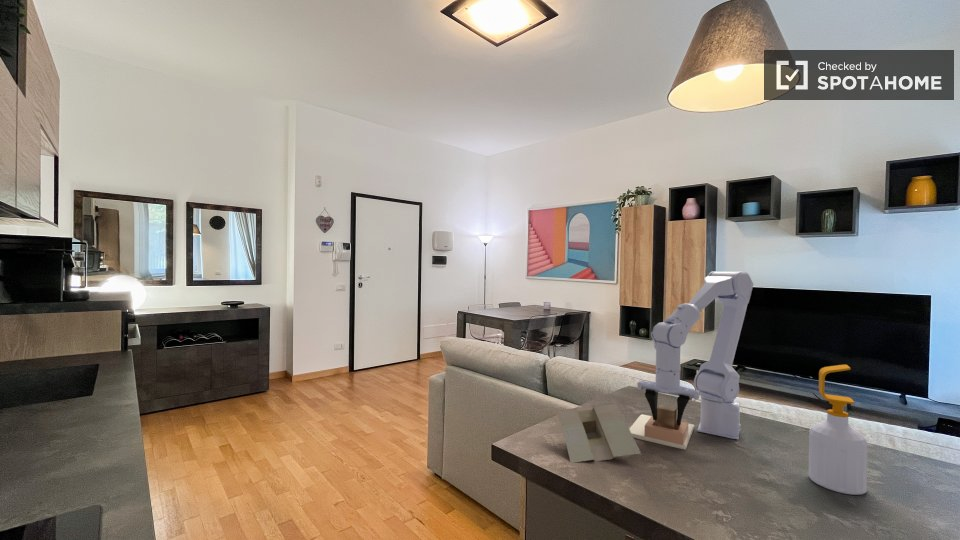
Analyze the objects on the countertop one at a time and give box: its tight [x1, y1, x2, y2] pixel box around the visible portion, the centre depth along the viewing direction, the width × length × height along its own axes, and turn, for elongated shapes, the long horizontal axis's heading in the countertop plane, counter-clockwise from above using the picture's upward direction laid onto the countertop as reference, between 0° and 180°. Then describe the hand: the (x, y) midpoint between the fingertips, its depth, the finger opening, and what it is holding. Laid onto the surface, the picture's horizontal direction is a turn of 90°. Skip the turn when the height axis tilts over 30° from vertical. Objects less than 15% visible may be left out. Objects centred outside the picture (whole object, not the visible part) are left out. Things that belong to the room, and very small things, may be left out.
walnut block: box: [657, 404, 678, 430], centre depth 106 cm, size 4×4×7 cm
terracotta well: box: [645, 415, 689, 445], centre depth 106 cm, size 9×9×3 cm
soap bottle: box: [808, 364, 868, 496], centre depth 84 cm, size 9×9×25 cm
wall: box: [557, 403, 642, 463], centre depth 100 cm, size 16×9×15 cm
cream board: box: [629, 414, 695, 451], centre depth 110 cm, size 14×17×1 cm
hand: (666, 421), depth 106 cm, fingers open, 5 cm apart
